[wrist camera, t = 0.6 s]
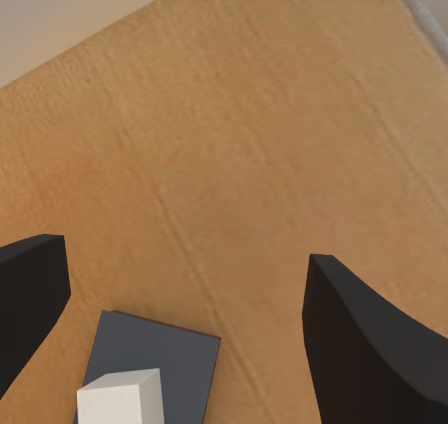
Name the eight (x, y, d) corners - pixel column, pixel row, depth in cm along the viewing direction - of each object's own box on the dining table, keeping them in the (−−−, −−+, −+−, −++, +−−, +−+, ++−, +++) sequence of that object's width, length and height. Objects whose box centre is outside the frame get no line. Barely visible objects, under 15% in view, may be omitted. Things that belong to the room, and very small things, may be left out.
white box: (165, 428, 30) (144, 456, 25) (110, 433, 31) (80, 461, 26) (159, 367, 31) (138, 384, 26) (106, 373, 31) (76, 390, 27)
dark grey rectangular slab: (188, 499, 31) (181, 518, 29) (74, 462, 33) (58, 477, 31) (224, 335, 33) (220, 340, 31) (114, 307, 35) (102, 309, 32)
